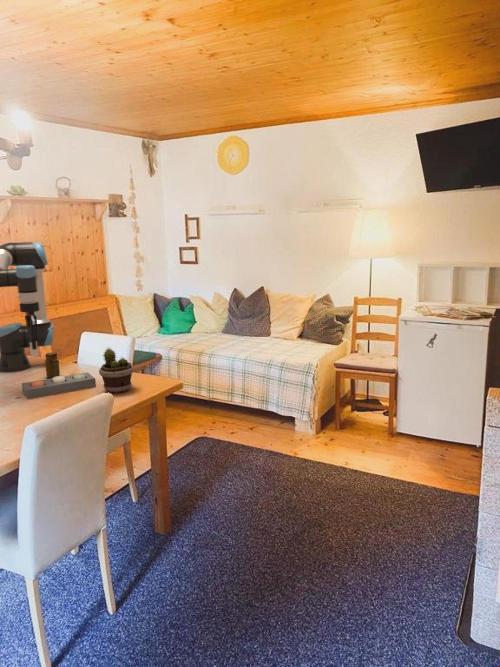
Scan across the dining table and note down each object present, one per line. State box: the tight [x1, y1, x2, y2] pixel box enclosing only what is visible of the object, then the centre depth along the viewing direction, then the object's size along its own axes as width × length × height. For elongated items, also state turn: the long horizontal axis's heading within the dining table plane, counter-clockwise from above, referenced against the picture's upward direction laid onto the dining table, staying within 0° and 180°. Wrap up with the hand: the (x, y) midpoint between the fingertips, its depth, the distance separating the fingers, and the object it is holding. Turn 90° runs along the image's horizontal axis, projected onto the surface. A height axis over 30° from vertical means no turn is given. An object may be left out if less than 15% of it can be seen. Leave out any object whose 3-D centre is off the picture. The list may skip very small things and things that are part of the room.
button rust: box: [31, 380, 44, 387], centre depth 217 cm, size 5×5×4 cm
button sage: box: [73, 373, 85, 380], centre depth 226 cm, size 5×5×4 cm
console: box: [21, 372, 97, 400], centre depth 222 cm, size 12×29×4 cm, turn 124°
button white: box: [53, 375, 65, 383], centre depth 221 cm, size 5×5×4 cm
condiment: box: [43, 352, 61, 379], centre depth 239 cm, size 7×8×12 cm
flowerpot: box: [98, 347, 135, 394], centre depth 218 cm, size 14×15×20 cm
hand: (34, 355), depth 214 cm, fingers closed
